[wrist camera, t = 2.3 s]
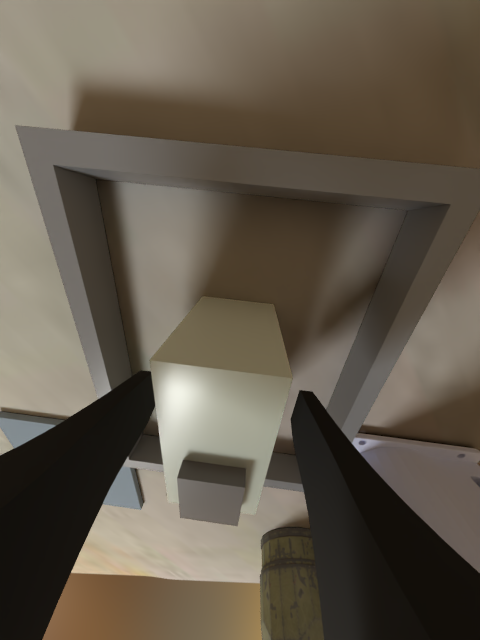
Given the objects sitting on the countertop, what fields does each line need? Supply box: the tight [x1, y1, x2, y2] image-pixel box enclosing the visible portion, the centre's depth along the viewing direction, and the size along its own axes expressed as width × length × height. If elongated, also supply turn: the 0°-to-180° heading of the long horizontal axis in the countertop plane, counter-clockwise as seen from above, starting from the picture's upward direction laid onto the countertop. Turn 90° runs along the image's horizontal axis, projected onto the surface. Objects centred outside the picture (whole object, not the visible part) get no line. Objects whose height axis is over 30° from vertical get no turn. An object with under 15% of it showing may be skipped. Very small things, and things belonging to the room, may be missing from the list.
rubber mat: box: [0, 411, 143, 510], centre depth 19 cm, size 11×13×1 cm
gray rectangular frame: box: [15, 125, 480, 492], centre depth 11 cm, size 16×20×2 cm
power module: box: [150, 296, 293, 526], centre depth 9 cm, size 4×8×7 cm, turn 174°
